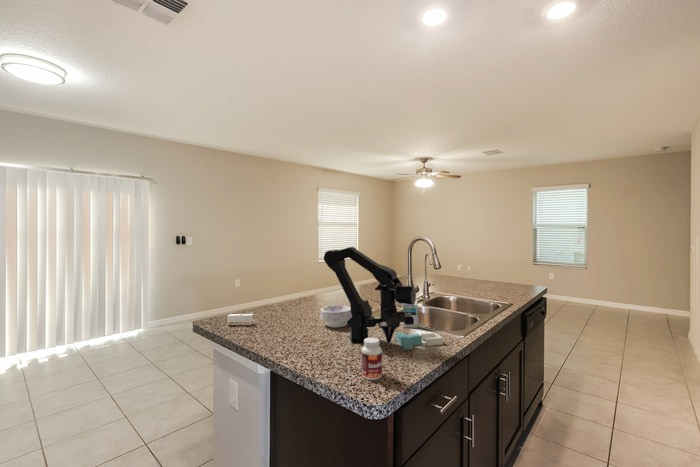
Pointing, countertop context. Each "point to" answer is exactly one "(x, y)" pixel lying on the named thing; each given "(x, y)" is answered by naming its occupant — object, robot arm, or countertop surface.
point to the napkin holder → (240, 318)
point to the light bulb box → (413, 312)
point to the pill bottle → (371, 359)
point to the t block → (408, 340)
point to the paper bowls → (336, 315)
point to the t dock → (432, 338)
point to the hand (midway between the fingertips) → (388, 342)
